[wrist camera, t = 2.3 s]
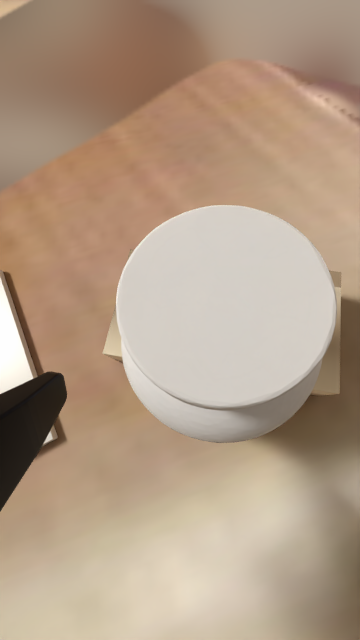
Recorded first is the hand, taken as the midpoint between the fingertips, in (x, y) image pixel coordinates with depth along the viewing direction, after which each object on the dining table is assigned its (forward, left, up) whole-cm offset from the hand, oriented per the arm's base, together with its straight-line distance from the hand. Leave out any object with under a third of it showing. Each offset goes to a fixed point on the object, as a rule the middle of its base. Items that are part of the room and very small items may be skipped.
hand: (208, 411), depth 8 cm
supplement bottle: (+2, -2, -10) cm, 11 cm away
